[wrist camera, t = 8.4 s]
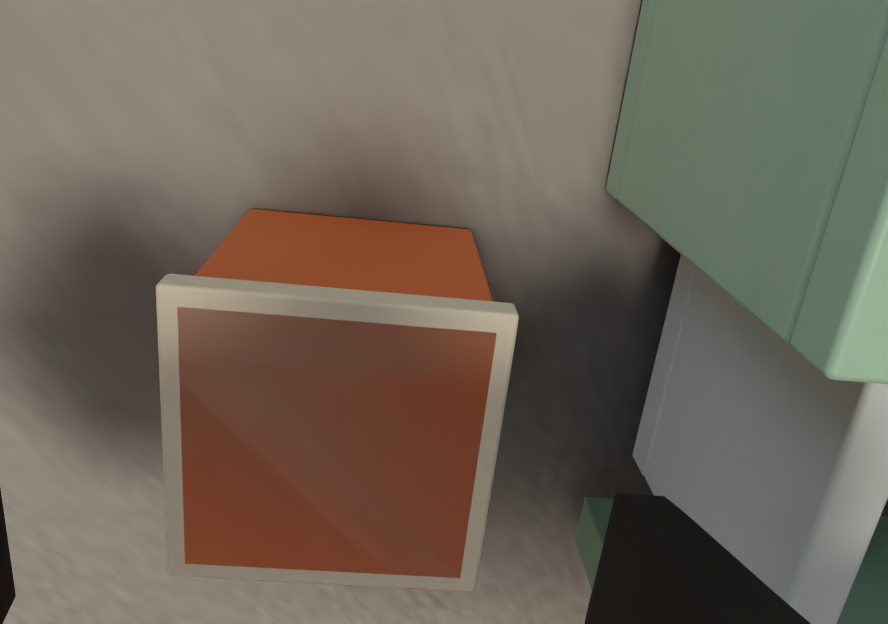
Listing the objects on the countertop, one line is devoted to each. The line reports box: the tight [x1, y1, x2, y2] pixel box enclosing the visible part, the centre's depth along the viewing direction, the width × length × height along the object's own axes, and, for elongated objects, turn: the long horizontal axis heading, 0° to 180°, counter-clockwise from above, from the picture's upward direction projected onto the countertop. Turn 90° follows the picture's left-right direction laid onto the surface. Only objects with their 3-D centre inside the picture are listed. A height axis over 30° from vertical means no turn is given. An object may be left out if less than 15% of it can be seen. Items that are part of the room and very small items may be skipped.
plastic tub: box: [156, 209, 519, 591], centre depth 13 cm, size 5×5×5 cm
